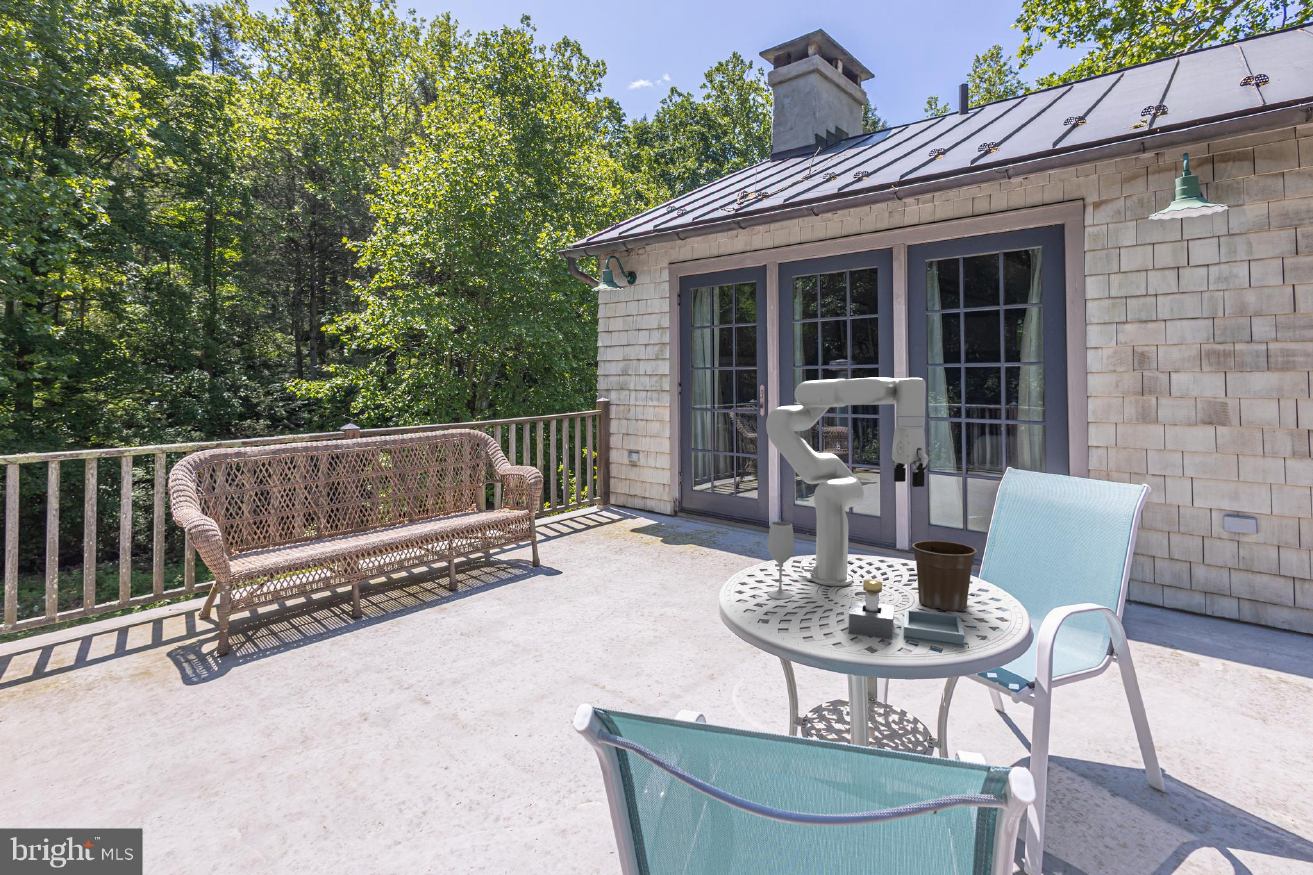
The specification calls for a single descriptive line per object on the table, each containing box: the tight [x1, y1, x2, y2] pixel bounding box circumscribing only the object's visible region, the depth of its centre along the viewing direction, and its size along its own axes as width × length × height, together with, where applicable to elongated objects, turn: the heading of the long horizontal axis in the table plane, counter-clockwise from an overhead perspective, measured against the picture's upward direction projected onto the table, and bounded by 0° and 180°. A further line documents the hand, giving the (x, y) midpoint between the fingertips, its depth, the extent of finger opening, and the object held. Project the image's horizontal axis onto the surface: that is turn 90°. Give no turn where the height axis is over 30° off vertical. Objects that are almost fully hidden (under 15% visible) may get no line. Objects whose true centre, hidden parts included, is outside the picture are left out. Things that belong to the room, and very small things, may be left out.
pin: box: [862, 578, 883, 613], centre depth 155 cm, size 4×4×12 cm
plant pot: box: [911, 540, 978, 612], centre depth 173 cm, size 16×16×16 cm
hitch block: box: [848, 600, 895, 641], centre depth 155 cm, size 10×10×5 cm
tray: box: [903, 608, 965, 648], centre depth 153 cm, size 13×13×3 cm
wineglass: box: [767, 520, 796, 600], centre depth 180 cm, size 8×8×21 cm
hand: (908, 484), depth 174 cm, fingers open, 9 cm apart
